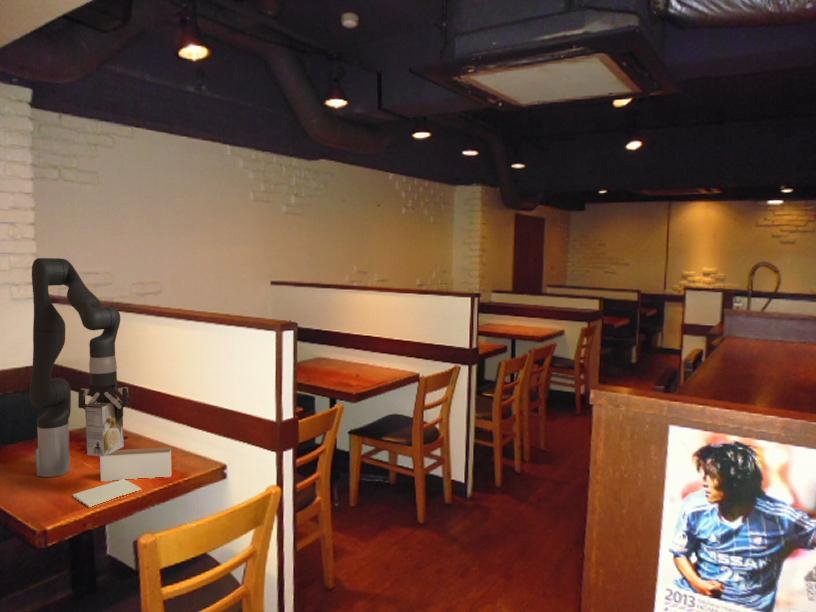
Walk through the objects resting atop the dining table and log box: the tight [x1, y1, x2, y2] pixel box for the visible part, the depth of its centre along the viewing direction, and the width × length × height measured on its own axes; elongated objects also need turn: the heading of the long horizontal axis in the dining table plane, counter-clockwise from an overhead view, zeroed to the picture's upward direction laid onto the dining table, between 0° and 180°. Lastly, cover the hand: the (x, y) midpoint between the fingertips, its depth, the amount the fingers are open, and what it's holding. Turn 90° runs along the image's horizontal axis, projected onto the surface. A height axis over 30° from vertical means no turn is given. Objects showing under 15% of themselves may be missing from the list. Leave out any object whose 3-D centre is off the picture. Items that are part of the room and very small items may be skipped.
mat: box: [72, 479, 142, 508], centre depth 178 cm, size 16×12×1 cm
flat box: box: [99, 446, 172, 482], centre depth 190 cm, size 22×2×10 cm, turn 103°
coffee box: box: [84, 398, 125, 457], centre depth 176 cm, size 9×6×16 cm
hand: (104, 420), depth 175 cm, fingers closed on coffee box, 8 cm apart
